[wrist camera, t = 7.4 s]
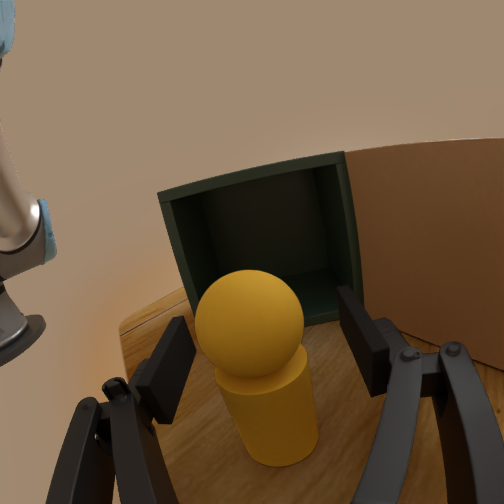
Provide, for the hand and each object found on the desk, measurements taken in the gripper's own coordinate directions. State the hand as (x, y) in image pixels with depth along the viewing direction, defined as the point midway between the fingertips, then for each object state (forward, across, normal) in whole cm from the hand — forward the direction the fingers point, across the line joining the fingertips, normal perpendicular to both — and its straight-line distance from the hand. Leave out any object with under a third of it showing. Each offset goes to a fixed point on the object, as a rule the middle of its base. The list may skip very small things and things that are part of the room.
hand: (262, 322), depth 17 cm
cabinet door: (+2, +15, -6) cm, 16 cm away
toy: (-4, 0, -6) cm, 7 cm away
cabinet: (+14, +1, -6) cm, 15 cm away
